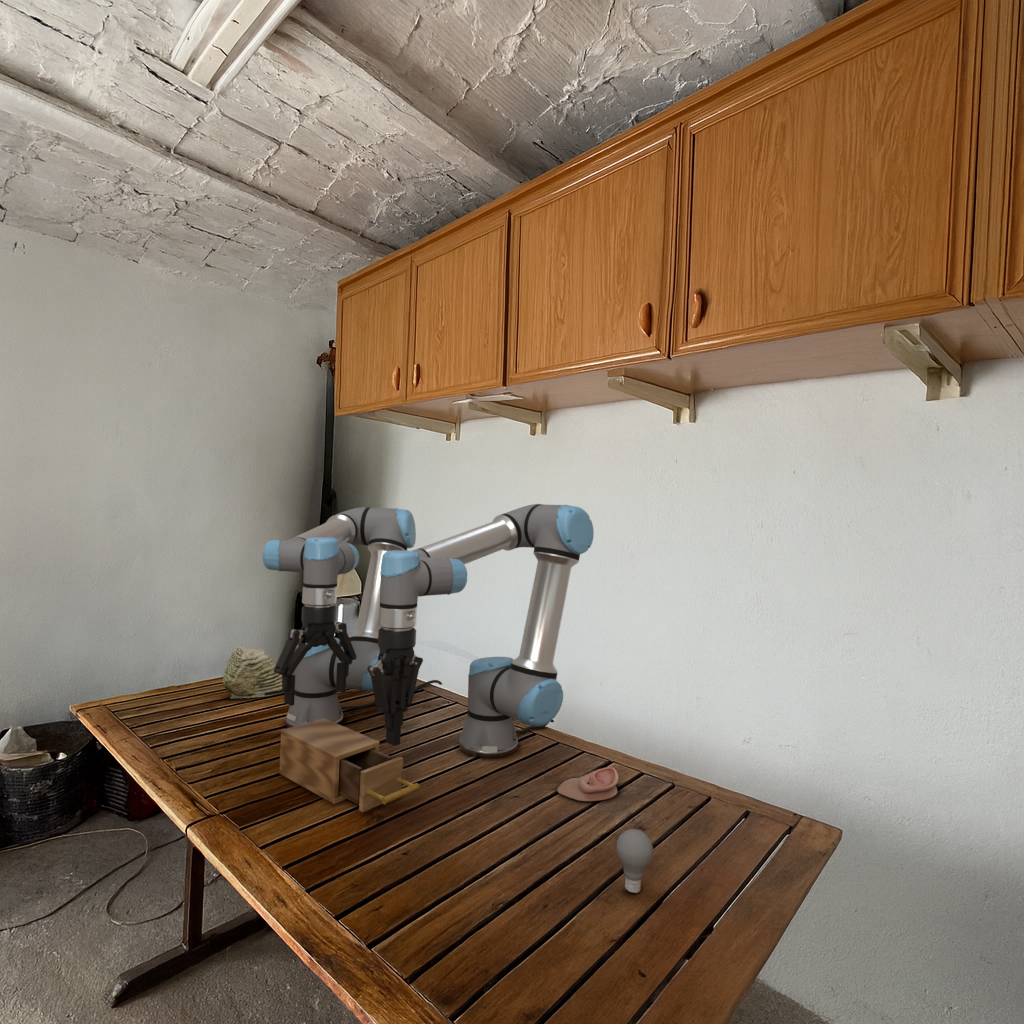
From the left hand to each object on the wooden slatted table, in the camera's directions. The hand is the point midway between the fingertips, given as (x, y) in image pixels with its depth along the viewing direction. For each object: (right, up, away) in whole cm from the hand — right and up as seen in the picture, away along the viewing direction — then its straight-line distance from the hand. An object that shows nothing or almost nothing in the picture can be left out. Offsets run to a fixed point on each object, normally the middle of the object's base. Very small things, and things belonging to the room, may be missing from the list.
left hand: (315, 697), depth 145 cm
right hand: (+21, -4, -17) cm, 27 cm away
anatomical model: (+62, -20, -3) cm, 65 cm away
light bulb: (+65, -21, -39) cm, 79 cm away
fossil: (-36, -15, +53) cm, 66 cm away
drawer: (+13, -17, -11) cm, 24 cm away
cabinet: (+4, -18, -3) cm, 18 cm away
